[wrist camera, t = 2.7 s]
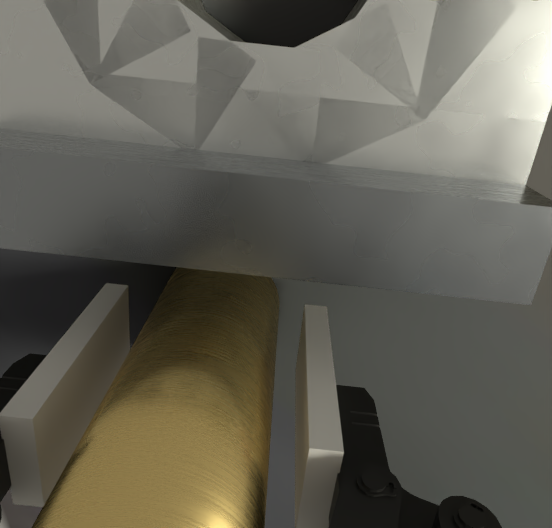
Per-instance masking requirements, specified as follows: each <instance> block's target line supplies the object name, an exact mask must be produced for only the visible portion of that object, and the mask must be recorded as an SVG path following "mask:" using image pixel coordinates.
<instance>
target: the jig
mask: <svg viewBox="0 0 552 528" xmlns="http://www.w3.org/2000/svg"><path fill="white" fill-rule="evenodd" d="M551 104H552V0H358V1H357V3H356V4H355V6H354V7H353V9H352V10H351V12H350V13H349V14H348V16H347V17H346V19H345V20H344V22H343V23H342V24H341V25H340V26H338V27H336V28H334V29H332V30H329V31H327V32H325V33H323V34H321V35H319V36H317V37H315V38H313V39H311V40H309V41H307V42H305V43H303V44H301V45H299V46H297V47H295V48H291V47H282V46H273V45H264V44H255V43H246V42H244V41H243V40H242V39H241V38H239V37H238V36H237V35H235V34H234V33H233V32H232V31H230V30H229V29H228V28H226V27H225V26H224V25H223V24H221V23H220V22H219V21H217V20H216V19H215V18H214V17H212V16H211V15H210V14H208V13H207V12H206V11H205V9H204V7H203V5H202V2H201V0H0V248H3V249H13V250H22V251H31V252H41V253H50V254H59V255H69V256H78V257H87V258H97V259H106V260H115V261H125V262H134V263H143V264H153V265H162V266H171V267H181V268H190V269H199V270H208V271H218V272H227V273H236V274H246V275H255V276H264V277H274V278H283V279H292V280H302V281H311V282H320V283H330V284H339V285H348V286H358V287H367V288H376V289H386V290H395V291H404V292H414V293H423V294H432V295H442V296H451V297H460V298H470V299H479V300H488V301H498V302H507V303H516V304H526V305H531V303H532V301H533V298H534V295H535V292H536V289H537V287H538V284H539V281H540V278H541V275H542V273H543V270H544V267H545V264H546V261H547V259H548V256H549V253H550V250H551V248H552V201H551V200H550V199H548V198H546V197H545V196H543V195H541V194H540V193H538V192H536V191H534V190H533V189H531V188H529V187H528V186H526V183H527V179H528V176H529V173H530V170H531V167H532V164H533V161H534V157H535V154H536V151H537V148H538V145H539V142H540V138H541V135H542V132H543V129H544V126H545V123H546V119H547V116H548V113H549V110H550V107H551Z"/></svg>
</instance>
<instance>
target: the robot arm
mask: <svg viewBox="0 0 552 528" xmlns="http://www.w3.org/2000/svg"><path fill="white" fill-rule="evenodd" d="M129 351H130V331H129V294H128V285H120V284H110V283H106V284H105V285H104V286H103V288H102V289H101V290H100V291H99V292H98V294H97V295H96V296H95V297H94V299H93V300H92V301H91V302H90V303H89V305H88V306H87V307H86V308H85V310H84V311H83V312H82V313H81V314H80V316H79V317H78V318H77V319H76V321H75V322H74V323H73V324H72V325H71V327H70V328H69V329H68V330H67V332H66V333H65V334H64V335H63V336H62V338H61V339H60V340H59V341H58V343H57V344H56V345H55V346H54V347H53V349H52V350H51V351H50V352H49V354H48V355H38V354H28V355H27V356H25V357H23V358H22V359H20V360H18V361H17V362H15V363H13V364H12V365H11V367H10V368H9V369H8V370H7V371H6V372H5V373H4V374H3V375H2V378H0V502H1V500H2V499H3V497H4V496H5V494H6V493H7V491H8V490H9V488H10V489H11V495H12V501H13V504H18V505H28V506H37V507H43V506H44V505H45V503H46V501H47V499H48V497H49V496H50V494H51V492H52V490H53V488H54V487H55V485H56V483H57V481H58V479H59V477H60V476H61V474H62V472H63V470H64V468H65V467H66V465H67V463H68V461H69V459H70V458H71V456H72V454H73V452H74V450H75V449H76V447H77V445H78V443H79V441H80V440H81V438H82V436H83V434H84V432H85V431H86V429H87V427H88V425H89V423H90V422H91V420H92V418H93V416H94V414H95V413H96V411H97V409H98V407H99V405H100V404H101V402H102V400H103V398H104V396H105V394H106V393H107V391H108V389H109V387H110V385H111V384H112V382H113V380H114V378H115V376H116V375H117V373H118V371H119V369H120V367H121V366H122V364H123V362H124V360H125V358H126V357H127V355H128V353H129ZM0 521H1V505H0ZM328 526H329V528H502V527H501V525H500V523H499V522H498V520H497V518H496V516H495V515H494V514H493V513H492V512H491V511H490V510H489V509H488V508H487V507H485V506H484V505H482V504H481V503H479V502H477V501H476V500H474V499H470V498H467V497H464V496H451V497H448V498H446V499H444V500H443V501H442V502H441V504H440V506H439V505H436V504H433V503H431V502H428V501H425V500H423V499H420V498H418V497H416V496H414V495H412V494H410V493H409V492H407V491H406V490H404V489H403V488H402V487H401V485H400V483H399V481H398V480H397V478H396V476H394V475H393V474H392V473H391V472H390V470H389V466H388V462H387V457H386V453H385V448H384V444H383V439H382V435H381V430H380V428H379V421H378V417H377V412H376V407H375V403H374V400H373V399H372V397H371V396H370V395H369V393H368V392H367V391H366V390H365V388H360V387H351V386H341V385H336V381H335V372H334V364H333V355H332V347H331V338H330V330H329V321H328V313H327V307H325V306H316V305H307V304H305V306H304V314H303V321H302V328H301V335H300V342H299V349H298V356H297V363H296V397H295V528H328Z"/></svg>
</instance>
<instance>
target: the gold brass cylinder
mask: <svg viewBox="0 0 552 528" xmlns="http://www.w3.org/2000/svg"><path fill="white" fill-rule="evenodd" d="M278 316H279V296H278V292H277V289H276V286H275V284H274V282H273V280H272V278H271V277H264V276H255V275H246V274H236V273H227V272H218V271H208V270H199V269H190V268H181V267H177V269H176V270H175V271H174V272H173V274H172V276H171V277H170V279H169V281H168V283H167V284H166V286H165V288H164V290H163V292H162V293H161V295H160V297H159V299H158V301H157V302H156V304H155V306H154V308H153V310H152V311H151V313H150V315H149V317H148V319H147V321H146V322H145V324H144V326H143V328H142V330H141V331H140V333H139V335H138V337H137V339H136V340H135V342H134V344H133V346H132V348H131V349H130V351H129V353H128V355H127V357H126V358H125V360H124V362H123V364H122V366H121V367H120V369H119V371H118V373H117V375H116V376H115V378H114V380H113V382H112V384H111V385H110V387H109V389H108V391H107V393H106V394H105V396H104V398H103V400H102V402H101V404H100V405H99V407H98V409H97V411H96V413H95V414H94V416H93V418H92V420H91V422H90V423H89V425H88V427H87V429H86V431H85V432H84V434H83V436H82V438H81V440H80V441H79V443H78V445H77V447H76V449H75V450H74V452H73V454H72V456H71V458H70V459H69V461H68V463H67V465H66V467H65V468H64V470H63V472H62V474H61V476H60V477H59V479H58V481H57V483H56V485H55V487H54V488H53V490H52V492H51V494H50V496H49V497H48V499H47V501H46V503H45V505H44V506H43V508H42V510H41V512H40V514H39V515H38V517H37V519H36V521H35V523H34V524H33V526H32V528H264V526H265V511H266V496H267V481H268V466H269V451H270V436H271V421H272V406H273V391H274V376H275V361H276V346H277V331H278Z"/></svg>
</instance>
